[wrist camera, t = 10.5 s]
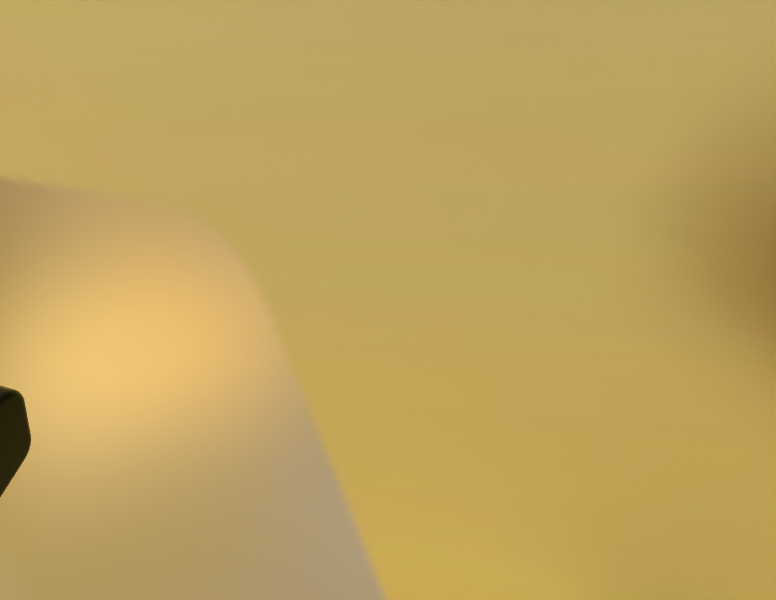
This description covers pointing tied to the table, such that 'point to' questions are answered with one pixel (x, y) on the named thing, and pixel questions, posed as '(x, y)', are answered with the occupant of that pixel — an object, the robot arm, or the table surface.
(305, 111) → the table surface
